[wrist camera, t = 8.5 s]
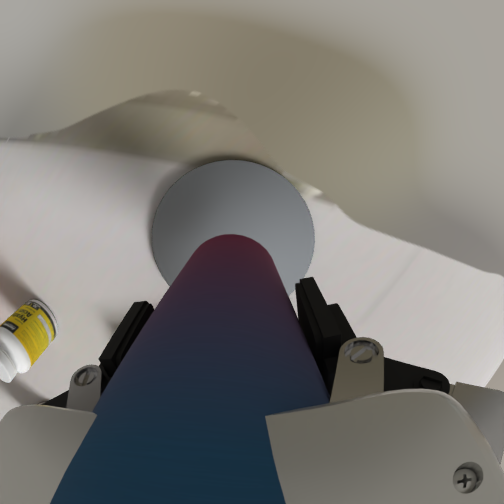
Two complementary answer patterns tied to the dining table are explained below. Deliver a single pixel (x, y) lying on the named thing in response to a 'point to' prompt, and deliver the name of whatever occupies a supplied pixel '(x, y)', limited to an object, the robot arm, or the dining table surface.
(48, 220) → the dining table surface
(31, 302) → the supplement bottle
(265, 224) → the disc
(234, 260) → the cup
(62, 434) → the robot arm
